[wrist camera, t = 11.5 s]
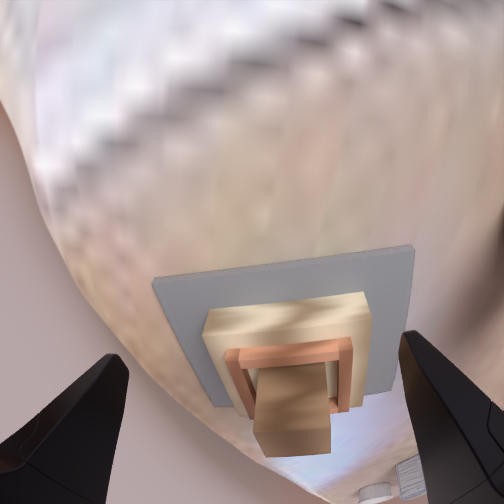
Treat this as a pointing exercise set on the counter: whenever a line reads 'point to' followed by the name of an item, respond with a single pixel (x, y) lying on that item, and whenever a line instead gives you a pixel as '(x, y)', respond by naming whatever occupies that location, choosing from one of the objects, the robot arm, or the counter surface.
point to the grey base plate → (290, 289)
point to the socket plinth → (292, 345)
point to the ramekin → (375, 493)
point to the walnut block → (293, 411)
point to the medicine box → (411, 478)
